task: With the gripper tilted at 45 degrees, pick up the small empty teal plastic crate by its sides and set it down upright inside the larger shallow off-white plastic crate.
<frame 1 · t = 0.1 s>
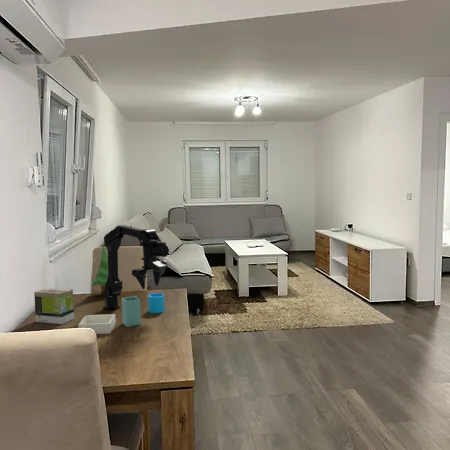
hand: (150, 287, 211), 15 cm above the table, tool pointing down, fingers open, 9 cm apart
teal crate: (131, 323, 202), on the table
tea box: (55, 320, 209), on the table
decorative tree: (105, 295, 257), on the table
mug: (155, 310, 224), on the table
white crate: (97, 329, 196), on the table
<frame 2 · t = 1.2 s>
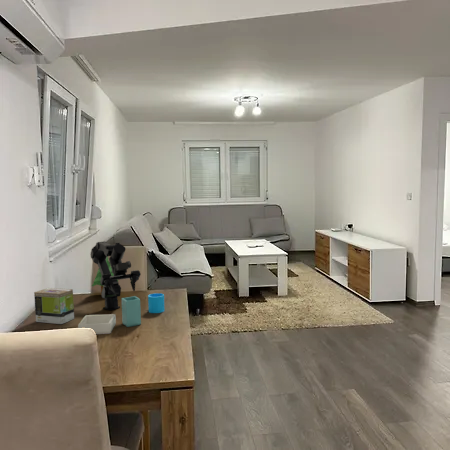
hand: (125, 292, 207), 13 cm above the table, tool tilted 45°, fingers open, 9 cm apart
nothing on the table moved.
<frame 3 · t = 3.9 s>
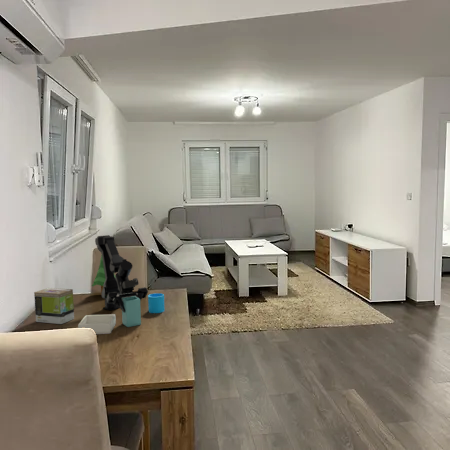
hand: (132, 310, 200), 7 cm above the table, tool tilted 45°, fingers closed on teal crate, 7 cm apart
teal crate: (131, 323, 202), on the table, touching gripper
everything else where it was.
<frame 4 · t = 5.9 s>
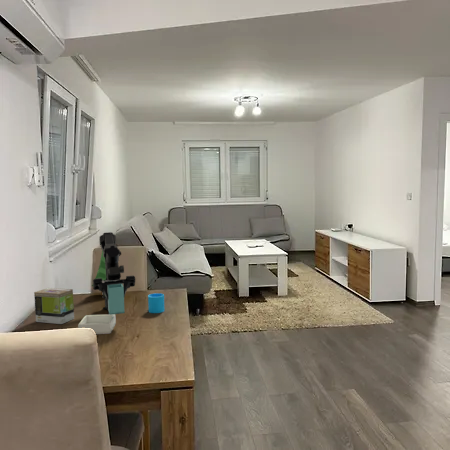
hand: (115, 298, 196), 14 cm above the table, tool tilted 45°, fingers closed on teal crate, 7 cm apart
teal crate: (116, 311, 198), point 7 cm above the table, touching gripper
everything else where it was.
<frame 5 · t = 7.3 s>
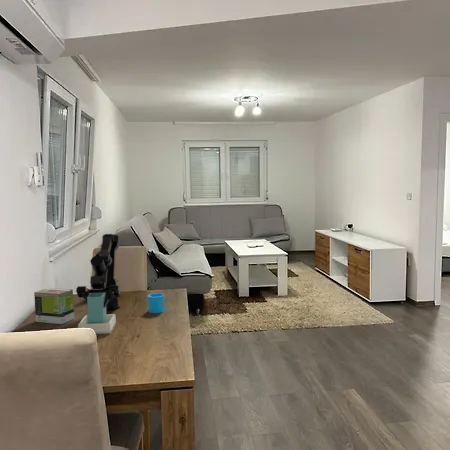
hand: (96, 307, 193), 10 cm above the table, tool tilted 45°, fingers closed on teal crate, 7 cm apart
teal crate: (97, 321, 195), point 4 cm above the table, touching gripper
everything else where it was.
when the fingers open (8 cm above the table, at t = 8.2 s): teal crate drops 1 cm, resting on white crate.
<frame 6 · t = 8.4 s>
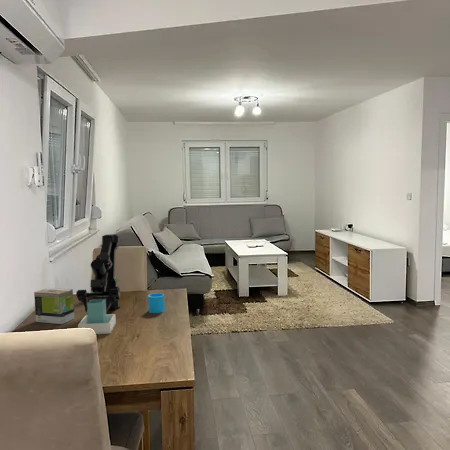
hand: (96, 311, 193), 9 cm above the table, tool tilted 45°, fingers open, 9 cm apart
teal crate: (97, 327, 195), point 1 cm above the table, touching white crate
everything else where it was.
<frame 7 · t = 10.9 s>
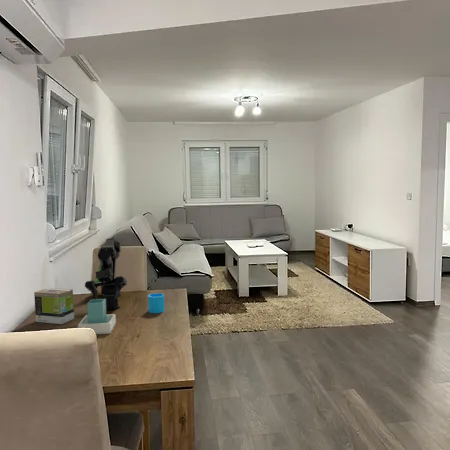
hand: (105, 300, 204), 11 cm above the table, tool tilted 35°, fingers open, 9 cm apart
nothing on the table moved.
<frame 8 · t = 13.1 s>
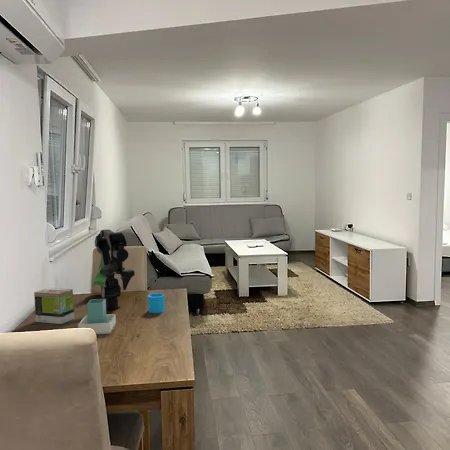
hand: (117, 289, 215), 13 cm above the table, tool pointing down, fingers open, 9 cm apart
nothing on the table moved.
at the end: teal crate 0.0 cm off-centre on the white crate, point 0.8 cm above the white crate's base; teal crate tilted 0°; the gripper is holding nothing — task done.
